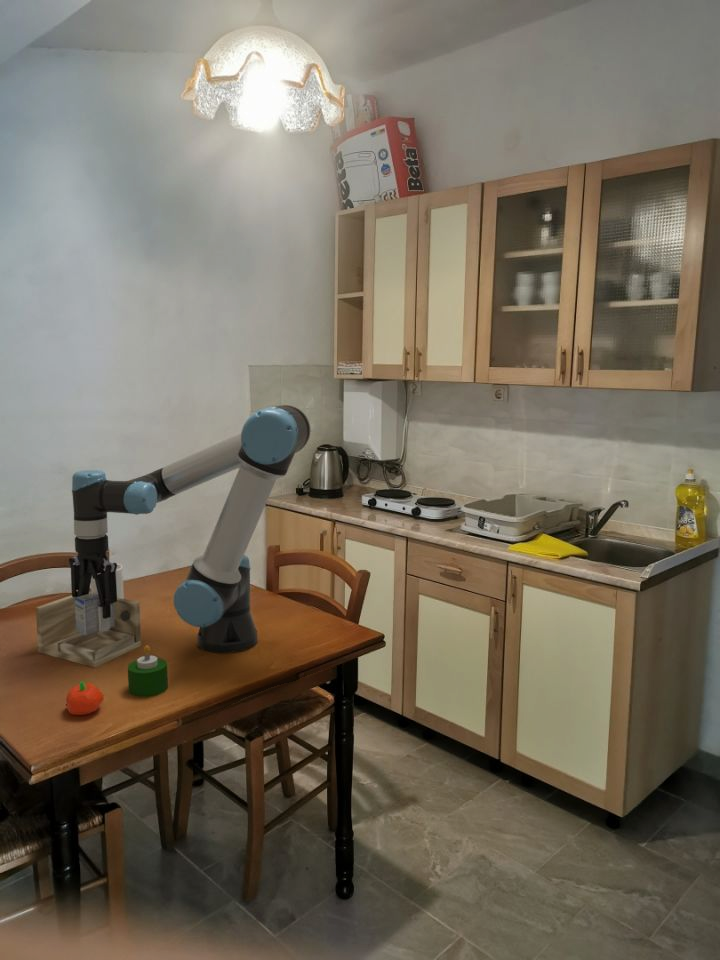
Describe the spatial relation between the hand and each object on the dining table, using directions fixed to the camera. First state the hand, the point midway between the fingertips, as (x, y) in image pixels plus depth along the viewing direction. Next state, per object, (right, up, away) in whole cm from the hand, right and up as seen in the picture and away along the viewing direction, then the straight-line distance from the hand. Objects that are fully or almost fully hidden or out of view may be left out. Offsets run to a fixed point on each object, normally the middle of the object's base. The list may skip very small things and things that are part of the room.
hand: (95, 627), depth 180 cm
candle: (+18, -10, -18) cm, 27 cm away
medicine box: (0, -1, 0) cm, 1 cm away
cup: (-4, -3, +21) cm, 21 cm away
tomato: (+8, -12, -28) cm, 32 cm away
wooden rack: (-3, -6, +3) cm, 7 cm away
